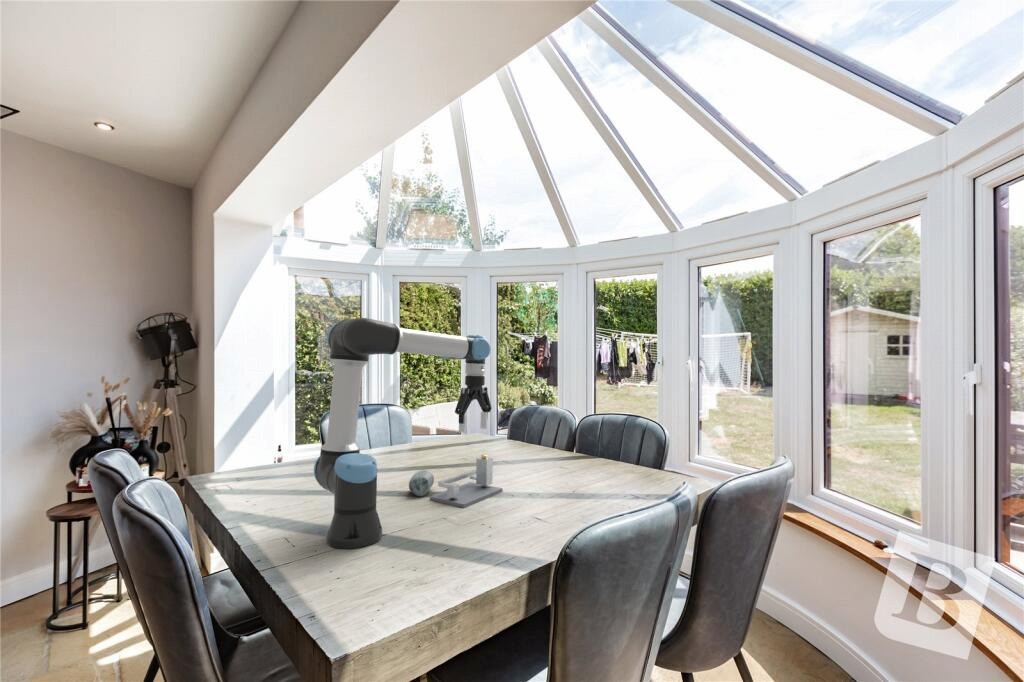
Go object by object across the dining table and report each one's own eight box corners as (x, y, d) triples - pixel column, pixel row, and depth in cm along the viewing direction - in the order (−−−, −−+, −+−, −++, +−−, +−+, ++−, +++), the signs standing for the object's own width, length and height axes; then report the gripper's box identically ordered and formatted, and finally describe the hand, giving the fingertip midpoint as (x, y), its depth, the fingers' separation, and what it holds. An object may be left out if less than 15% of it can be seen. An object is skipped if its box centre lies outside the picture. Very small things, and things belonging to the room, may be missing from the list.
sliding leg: (486, 488, 183) (486, 457, 183) (468, 484, 188) (468, 454, 188) (492, 485, 186) (492, 455, 187) (474, 482, 191) (474, 452, 191)
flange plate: (463, 507, 164) (464, 504, 164) (429, 499, 173) (429, 496, 173) (502, 491, 184) (502, 488, 184) (470, 484, 193) (470, 481, 193)
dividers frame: (453, 500, 168) (453, 486, 168) (435, 496, 173) (435, 482, 173) (491, 485, 188) (491, 472, 188) (474, 482, 192) (474, 469, 193)
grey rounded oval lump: (432, 490, 174) (422, 465, 177) (409, 501, 174) (399, 476, 177) (442, 489, 187) (433, 465, 190) (421, 499, 187) (412, 476, 190)
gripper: (462, 375, 169) (460, 435, 168) (501, 375, 190) (499, 428, 189) (446, 374, 173) (444, 432, 172) (486, 374, 194) (484, 426, 193)
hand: (473, 430), depth 181 cm, fingers open, 13 cm apart
